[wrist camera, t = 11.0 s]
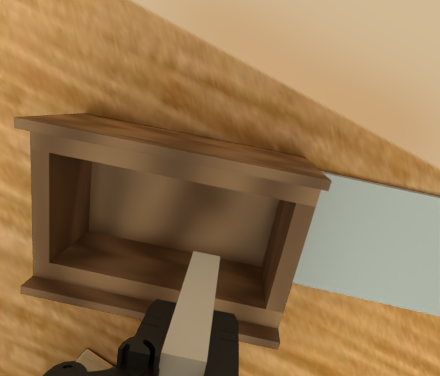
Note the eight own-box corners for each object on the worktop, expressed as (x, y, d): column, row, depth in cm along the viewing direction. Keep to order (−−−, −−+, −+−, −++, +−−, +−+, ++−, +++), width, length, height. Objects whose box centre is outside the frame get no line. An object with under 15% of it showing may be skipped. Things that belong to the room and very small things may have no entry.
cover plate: (271, 269, 26) (273, 278, 24) (302, 165, 23) (306, 169, 21) (444, 307, 25) (455, 320, 24) (497, 207, 22) (515, 214, 21)
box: (79, 243, 26) (20, 293, 19) (84, 113, 22) (14, 117, 16) (268, 283, 26) (277, 349, 19) (304, 157, 22) (331, 180, 15)
